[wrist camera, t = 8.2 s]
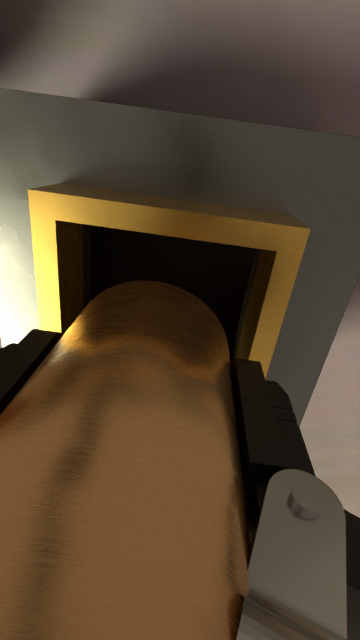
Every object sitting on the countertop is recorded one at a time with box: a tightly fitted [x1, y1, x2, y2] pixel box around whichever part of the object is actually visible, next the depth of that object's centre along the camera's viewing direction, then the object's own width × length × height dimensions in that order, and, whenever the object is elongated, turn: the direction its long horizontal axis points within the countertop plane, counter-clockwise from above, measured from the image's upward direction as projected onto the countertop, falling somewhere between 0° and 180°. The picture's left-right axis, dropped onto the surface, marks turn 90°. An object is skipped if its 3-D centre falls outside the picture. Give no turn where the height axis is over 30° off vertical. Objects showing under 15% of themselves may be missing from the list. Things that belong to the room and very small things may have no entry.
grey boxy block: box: [0, 88, 360, 426], centre depth 17 cm, size 14×15×12 cm
